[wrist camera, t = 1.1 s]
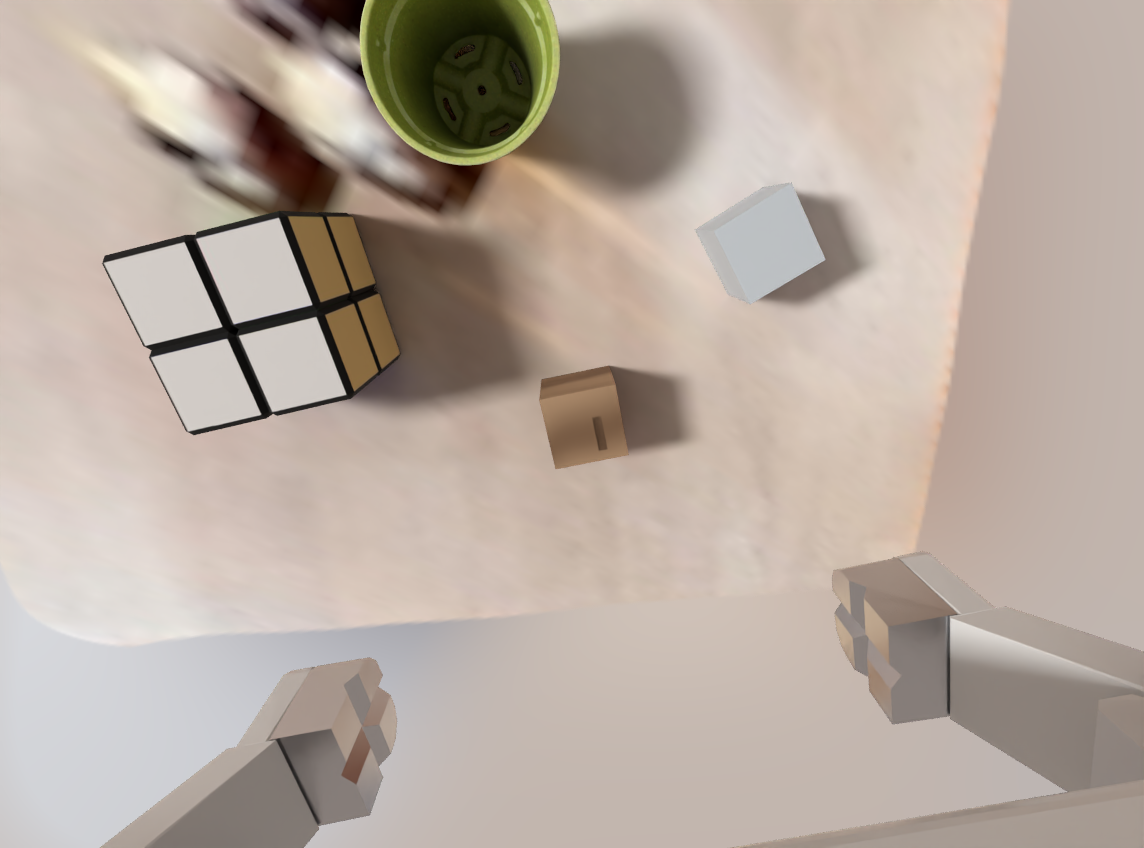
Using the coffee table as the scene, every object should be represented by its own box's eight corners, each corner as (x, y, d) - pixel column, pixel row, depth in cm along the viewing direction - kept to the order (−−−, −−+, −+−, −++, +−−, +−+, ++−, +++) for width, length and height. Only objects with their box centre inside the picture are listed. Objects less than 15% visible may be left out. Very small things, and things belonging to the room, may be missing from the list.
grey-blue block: (694, 229, 38) (713, 231, 33) (762, 187, 37) (791, 182, 32) (727, 294, 39) (750, 304, 34) (793, 255, 38) (825, 259, 34)
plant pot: (585, 131, 35) (593, 105, 27) (456, 203, 37) (427, 198, 29) (514, -30, 32) (498, -114, 24) (377, 54, 34) (318, 1, 26)
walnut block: (541, 379, 41) (539, 399, 36) (609, 365, 41) (615, 384, 36) (556, 441, 42) (555, 469, 38) (621, 428, 42) (628, 454, 38)
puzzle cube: (271, 388, 41) (185, 438, 31) (210, 248, 37) (93, 257, 28) (403, 357, 40) (355, 398, 31) (352, 211, 37) (281, 208, 27)
